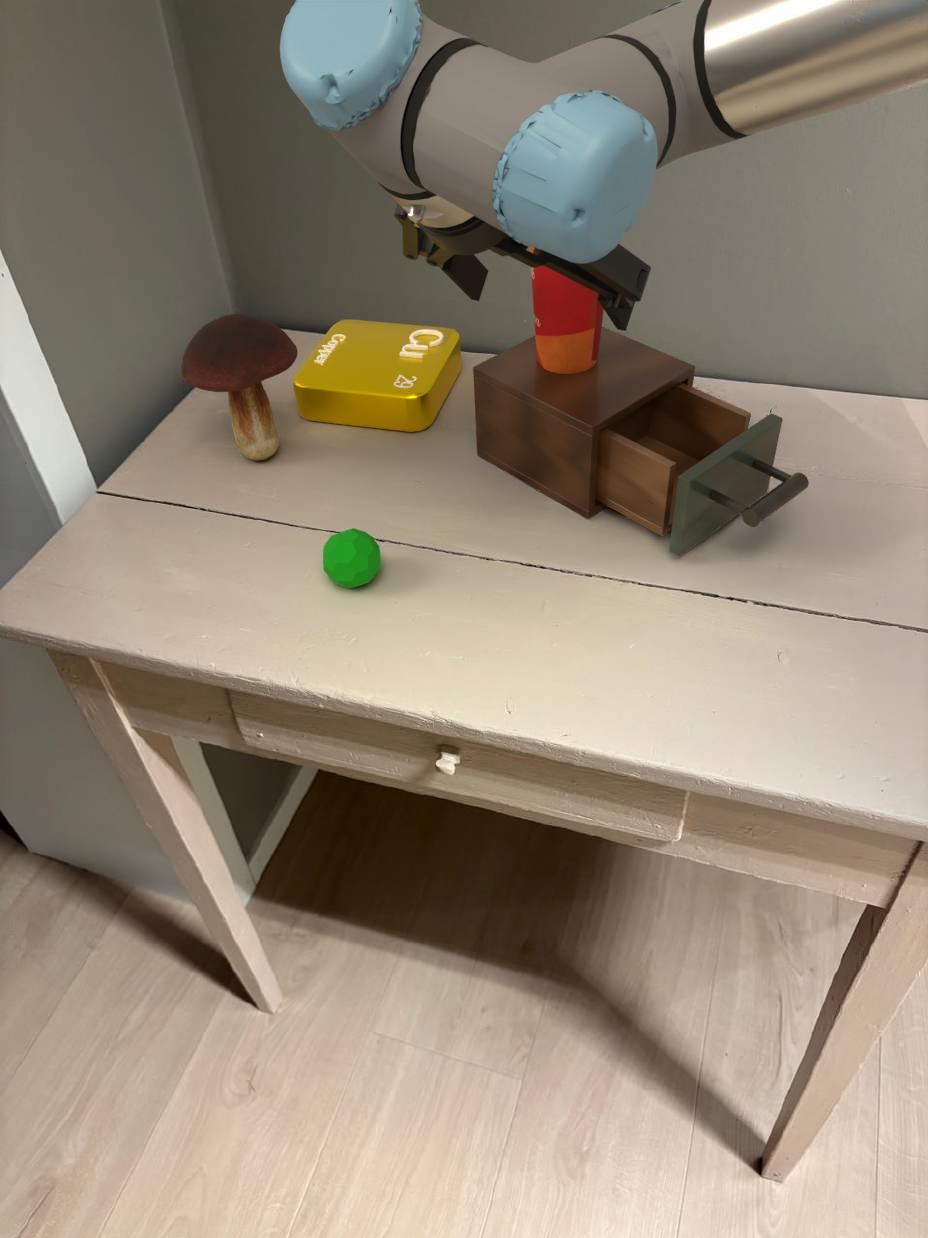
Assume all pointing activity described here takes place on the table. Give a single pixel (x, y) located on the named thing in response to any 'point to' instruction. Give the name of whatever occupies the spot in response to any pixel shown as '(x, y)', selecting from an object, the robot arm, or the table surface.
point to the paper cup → (565, 322)
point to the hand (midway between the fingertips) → (551, 299)
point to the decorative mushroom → (241, 374)
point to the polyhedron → (351, 558)
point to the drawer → (692, 466)
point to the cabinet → (564, 412)
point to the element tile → (378, 375)
